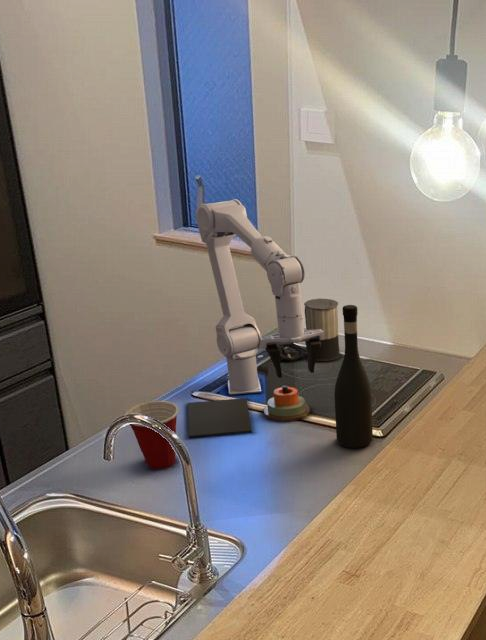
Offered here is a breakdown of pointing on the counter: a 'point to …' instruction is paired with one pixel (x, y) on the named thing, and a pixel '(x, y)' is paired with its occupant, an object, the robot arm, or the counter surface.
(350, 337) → the wine bottle
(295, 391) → the ring
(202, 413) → the mat
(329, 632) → the counter surface
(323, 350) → the milk frother
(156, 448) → the plastic cup
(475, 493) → the counter surface
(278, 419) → the ring stand
